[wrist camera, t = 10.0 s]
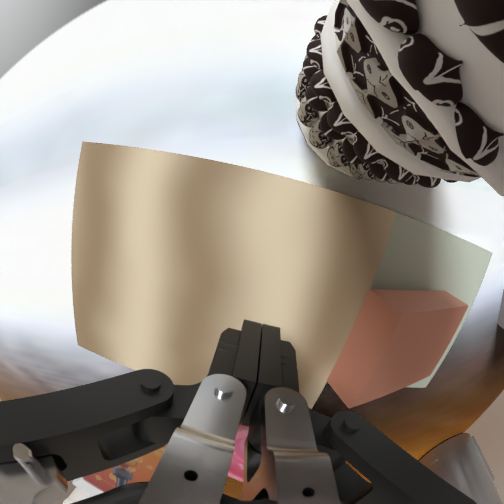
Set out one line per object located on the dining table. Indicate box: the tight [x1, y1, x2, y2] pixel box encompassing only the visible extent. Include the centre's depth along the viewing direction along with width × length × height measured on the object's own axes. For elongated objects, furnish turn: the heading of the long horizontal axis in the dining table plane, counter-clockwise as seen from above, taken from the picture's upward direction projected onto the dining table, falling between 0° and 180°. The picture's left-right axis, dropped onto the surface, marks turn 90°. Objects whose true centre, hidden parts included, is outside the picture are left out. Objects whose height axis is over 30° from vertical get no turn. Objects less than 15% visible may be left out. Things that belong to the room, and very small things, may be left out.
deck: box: [72, 142, 397, 409], centre depth 15 cm, size 16×13×4 cm
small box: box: [73, 444, 168, 496], centre depth 18 cm, size 8×6×10 cm
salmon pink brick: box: [327, 289, 469, 409], centre depth 14 cm, size 9×6×2 cm, turn 76°
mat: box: [371, 213, 492, 388], centre depth 17 cm, size 12×13×1 cm
